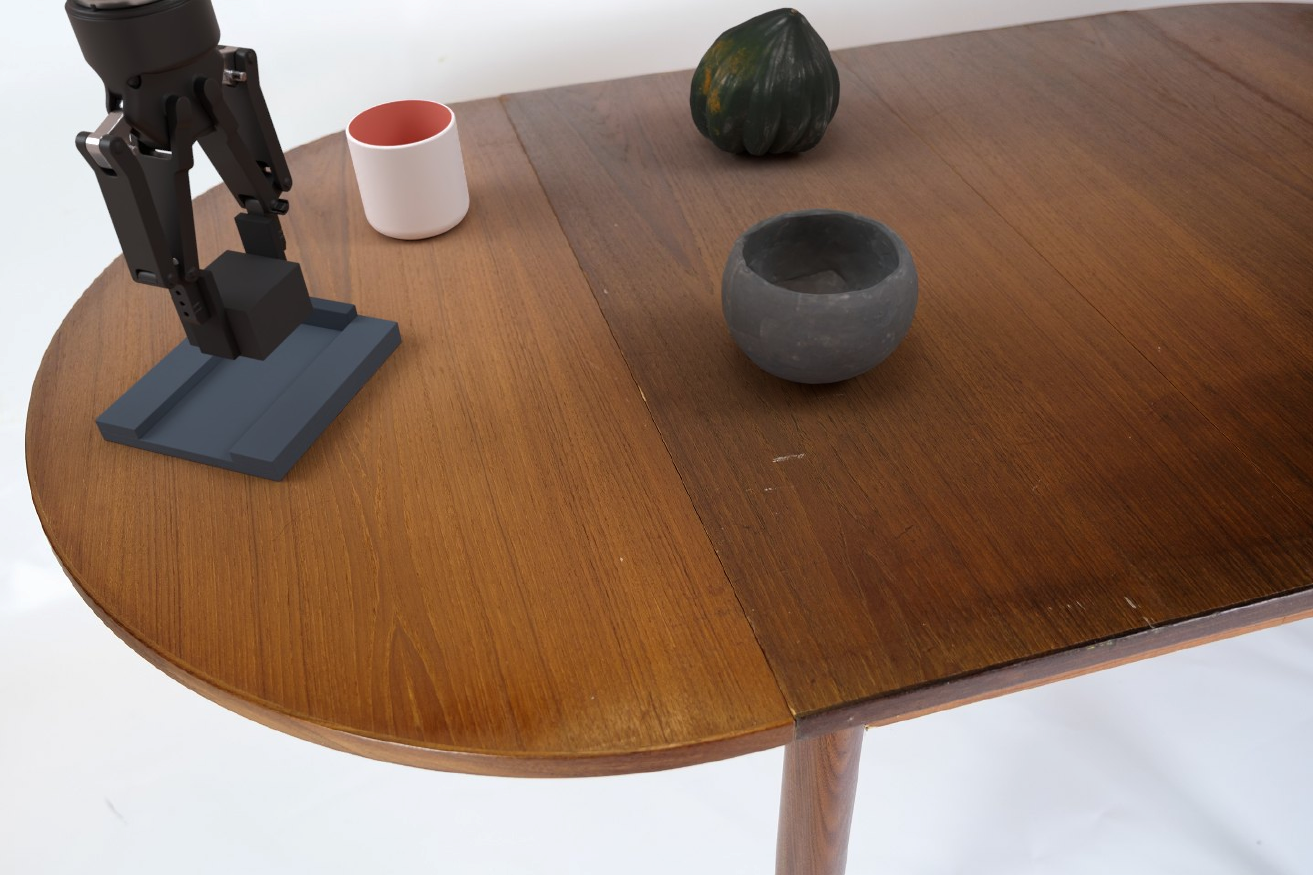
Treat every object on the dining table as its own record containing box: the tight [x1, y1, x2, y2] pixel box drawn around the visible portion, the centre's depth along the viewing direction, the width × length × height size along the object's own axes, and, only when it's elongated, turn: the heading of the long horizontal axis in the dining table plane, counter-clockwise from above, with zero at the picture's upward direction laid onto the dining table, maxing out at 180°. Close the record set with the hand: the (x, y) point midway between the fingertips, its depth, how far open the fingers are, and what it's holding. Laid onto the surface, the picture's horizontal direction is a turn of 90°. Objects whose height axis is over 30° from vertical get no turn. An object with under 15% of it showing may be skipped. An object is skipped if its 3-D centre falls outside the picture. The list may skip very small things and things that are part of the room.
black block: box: [170, 249, 314, 361], centre depth 76 cm, size 6×6×4 cm
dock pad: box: [94, 296, 403, 483], centre depth 90 cm, size 18×16×3 cm
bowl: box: [720, 207, 919, 385], centre depth 87 cm, size 15×15×10 cm
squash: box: [689, 7, 841, 156], centre depth 115 cm, size 14×15×15 cm
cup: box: [345, 98, 470, 240], centre depth 107 cm, size 10×10×10 cm
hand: (251, 324), depth 78 cm, fingers closed on black block, 6 cm apart
